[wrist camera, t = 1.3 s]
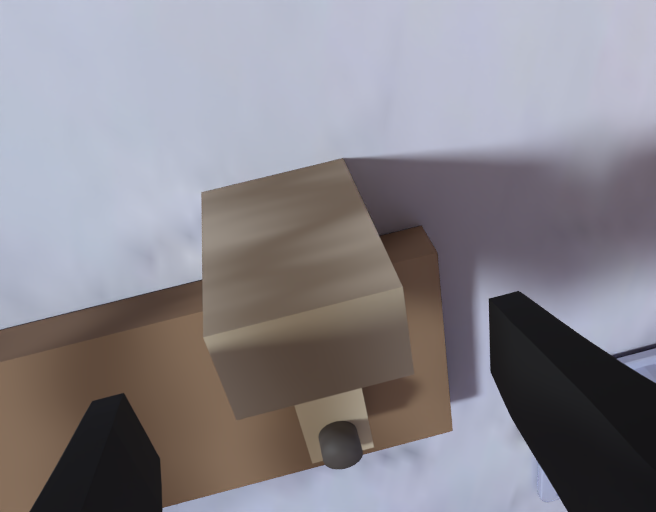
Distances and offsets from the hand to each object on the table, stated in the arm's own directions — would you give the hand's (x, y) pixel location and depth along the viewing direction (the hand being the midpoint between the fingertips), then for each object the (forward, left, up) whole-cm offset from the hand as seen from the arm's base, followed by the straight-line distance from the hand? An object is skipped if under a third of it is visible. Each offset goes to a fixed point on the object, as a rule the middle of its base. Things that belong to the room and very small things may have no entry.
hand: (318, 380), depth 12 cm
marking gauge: (0, +3, -7) cm, 7 cm away
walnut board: (+6, +6, -7) cm, 11 cm away
